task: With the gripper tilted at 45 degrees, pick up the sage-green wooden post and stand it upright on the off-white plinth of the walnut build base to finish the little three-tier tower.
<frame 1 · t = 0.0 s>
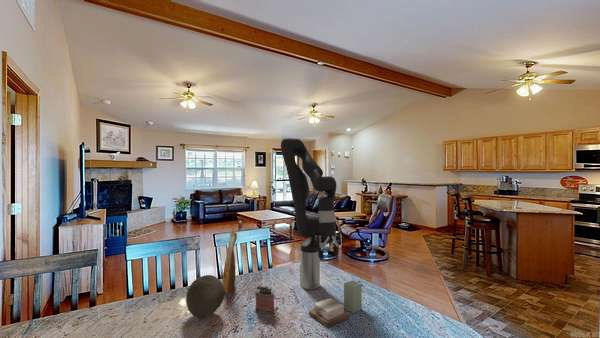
hand: (328, 257, 128), 17 cm above the table, tool pointing down, fingers open, 8 cm apart
lighter: (264, 311, 114), on the table
green post: (352, 308, 116), on the table
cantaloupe: (205, 315, 111), on the table
pancake mix bag: (230, 287, 138), on the table
build base: (328, 316, 110), on the table
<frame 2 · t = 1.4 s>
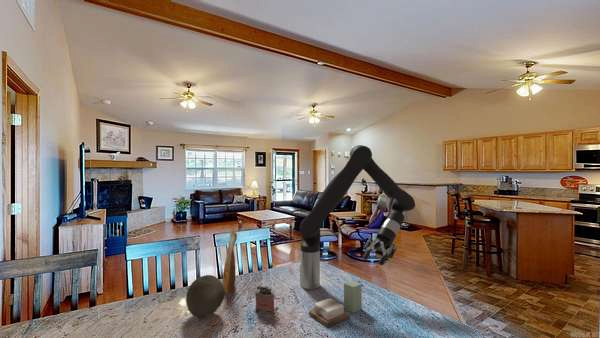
hand: (372, 261, 123), 17 cm above the table, tool tilted 45°, fingers open, 8 cm apart
nothing on the table moved.
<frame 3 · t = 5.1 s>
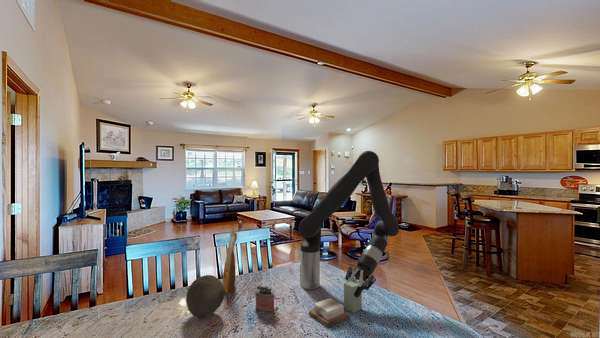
hand: (350, 293, 115), 6 cm above the table, tool tilted 45°, fingers closed on green post, 5 cm apart
green post: (352, 308, 116), on the table, touching gripper
everything else where it was.
when the fingers open (12 cm above the table, at t = 9.2 s): green post drops 1 cm, resting on build base.
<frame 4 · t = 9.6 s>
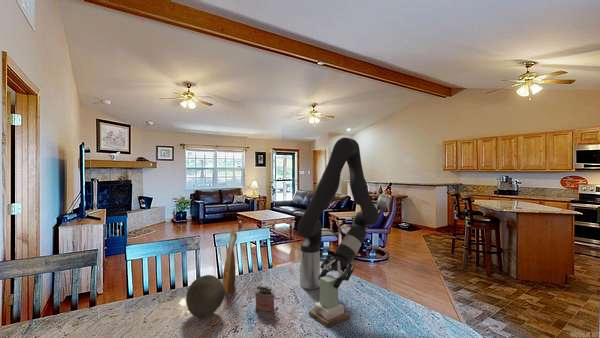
hand: (327, 283, 110), 13 cm above the table, tool tilted 45°, fingers open, 8 cm apart
green post: (329, 304, 110), point 4 cm above the table, touching build base
everything else where it was.
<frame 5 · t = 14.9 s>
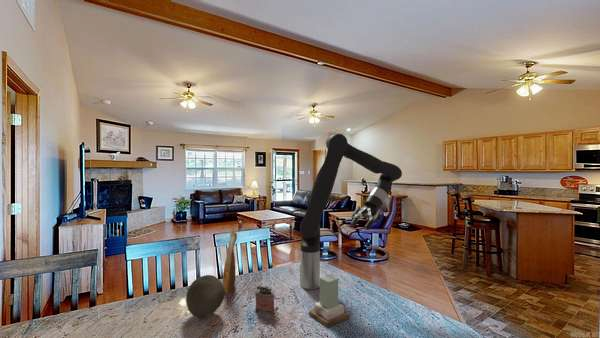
hand: (359, 227, 127), 31 cm above the table, tool tilted 45°, fingers open, 8 cm apart
nothing on the table moved.
at the end: green post 0.1 cm off-centre on the build base, point 4.5 cm above the build base's base; green post tilted 0°; the gripper is holding nothing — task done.
